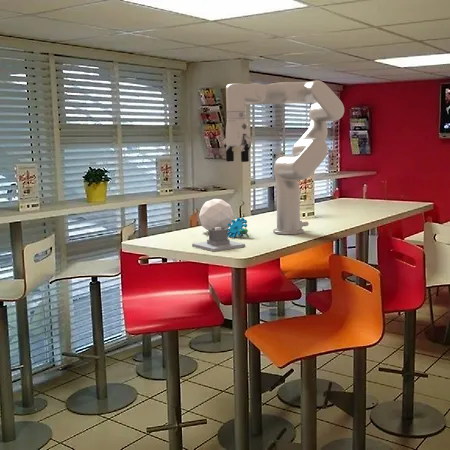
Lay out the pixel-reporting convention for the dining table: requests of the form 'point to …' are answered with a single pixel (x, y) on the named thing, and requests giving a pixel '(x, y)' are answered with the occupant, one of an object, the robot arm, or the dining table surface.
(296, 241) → the dining table surface
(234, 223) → the gear
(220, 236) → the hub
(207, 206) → the geometric sphere
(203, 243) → the shaft stand
